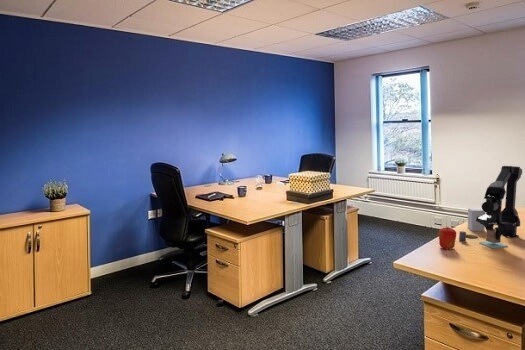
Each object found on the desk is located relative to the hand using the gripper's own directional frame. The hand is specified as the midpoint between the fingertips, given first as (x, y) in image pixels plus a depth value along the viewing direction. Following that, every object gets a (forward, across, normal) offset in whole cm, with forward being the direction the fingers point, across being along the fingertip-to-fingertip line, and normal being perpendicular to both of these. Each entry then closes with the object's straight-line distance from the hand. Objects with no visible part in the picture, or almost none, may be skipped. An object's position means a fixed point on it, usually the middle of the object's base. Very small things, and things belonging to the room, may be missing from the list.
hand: (493, 238), depth 198 cm
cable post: (+4, -11, -10) cm, 15 cm away
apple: (+4, -3, -26) cm, 26 cm away
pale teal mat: (+4, 0, 0) cm, 4 cm away
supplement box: (+4, -27, +14) cm, 31 cm away
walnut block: (+2, 0, 0) cm, 2 cm away
